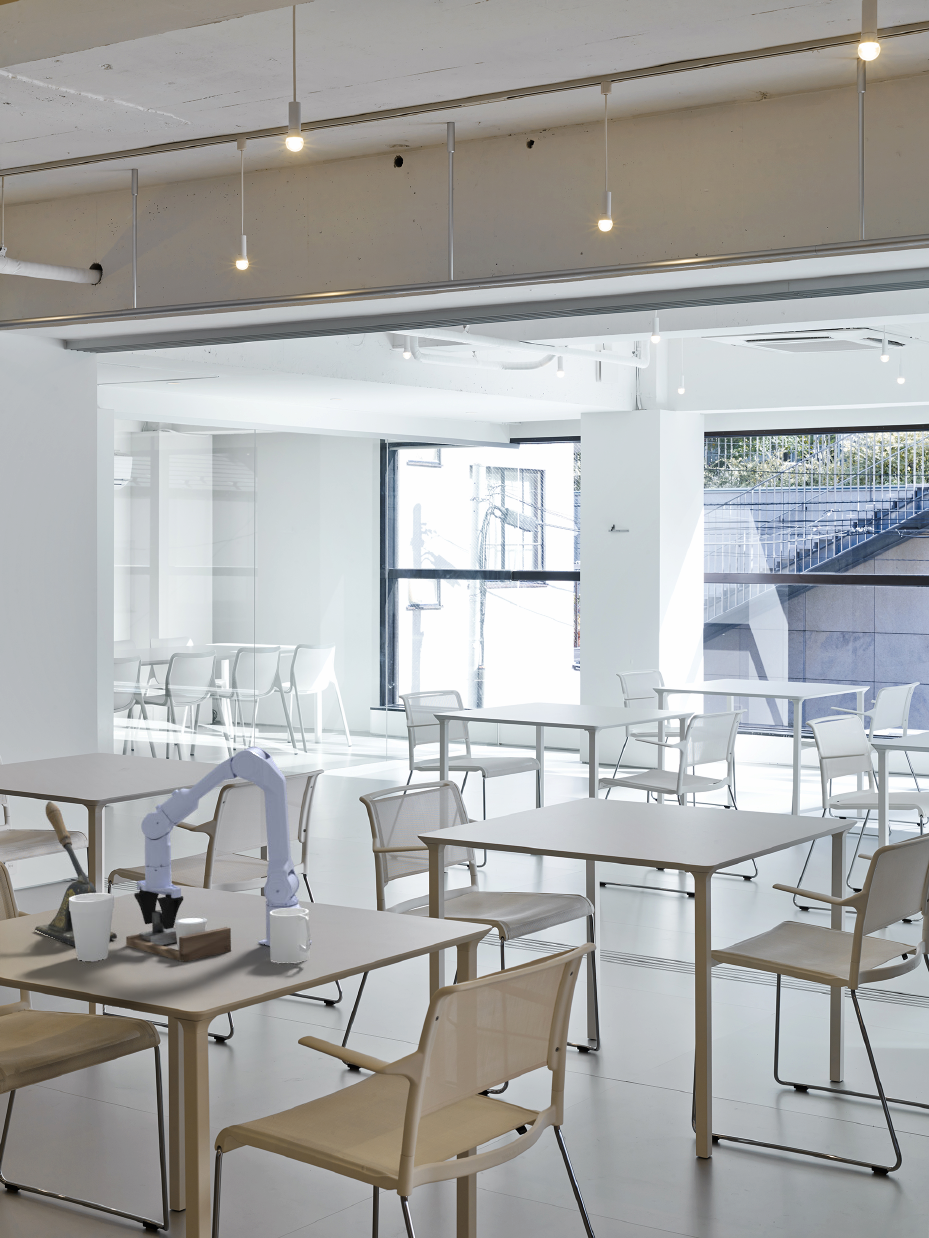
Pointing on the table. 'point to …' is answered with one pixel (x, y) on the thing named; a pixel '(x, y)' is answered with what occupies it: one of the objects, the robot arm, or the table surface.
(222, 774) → the robot arm
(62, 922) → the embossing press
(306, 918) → the cup
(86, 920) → the foam cup
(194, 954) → the wooden tray
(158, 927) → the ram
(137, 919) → the table surface
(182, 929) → the white tapered cylinder
